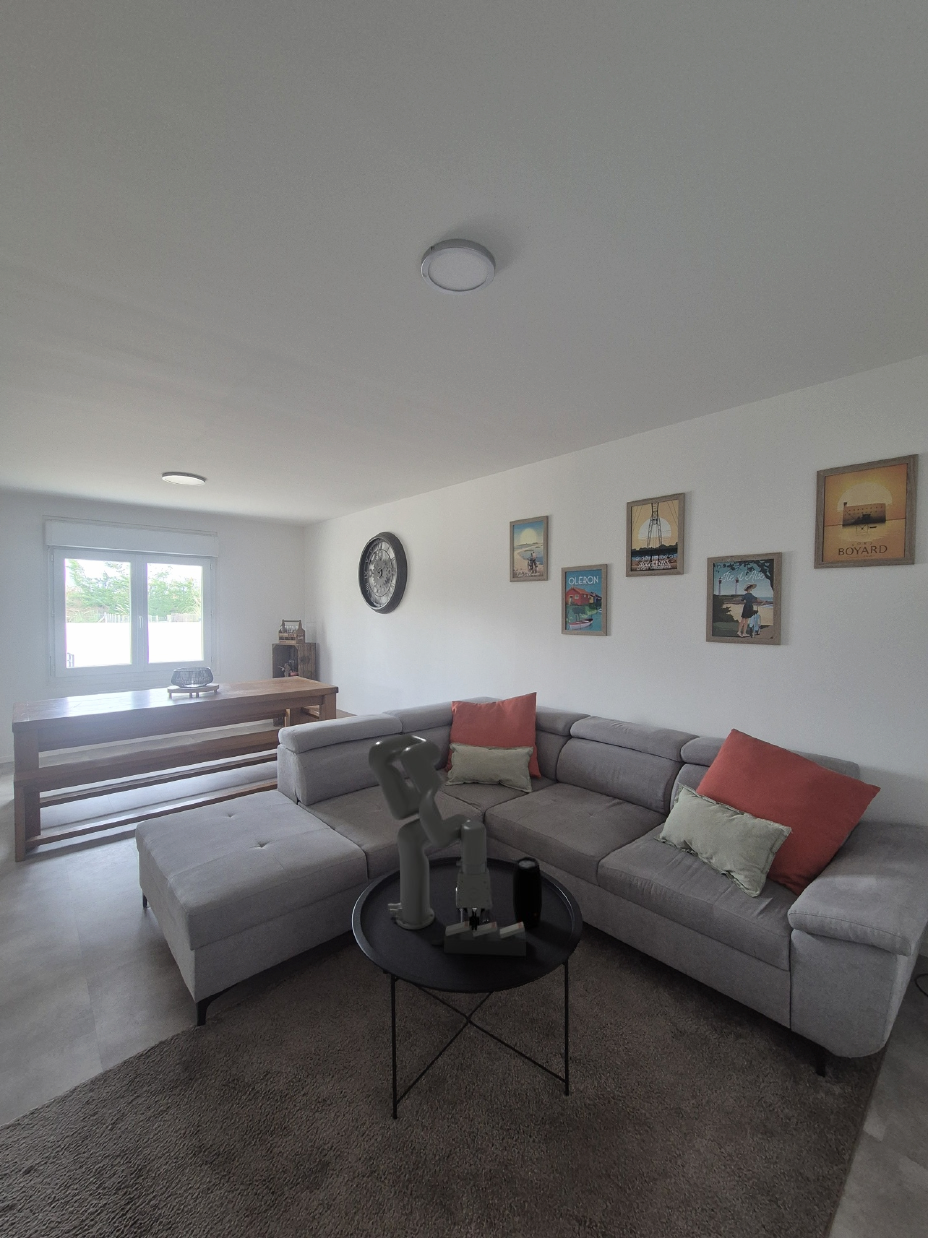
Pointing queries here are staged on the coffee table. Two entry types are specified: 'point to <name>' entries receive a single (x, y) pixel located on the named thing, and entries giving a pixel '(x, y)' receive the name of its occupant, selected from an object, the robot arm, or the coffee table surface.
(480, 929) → the rocker
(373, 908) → the coffee table surface
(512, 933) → the rocker
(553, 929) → the coffee table surface
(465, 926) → the rocker
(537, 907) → the portable speaker
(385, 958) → the coffee table surface
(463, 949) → the rocker switch box
